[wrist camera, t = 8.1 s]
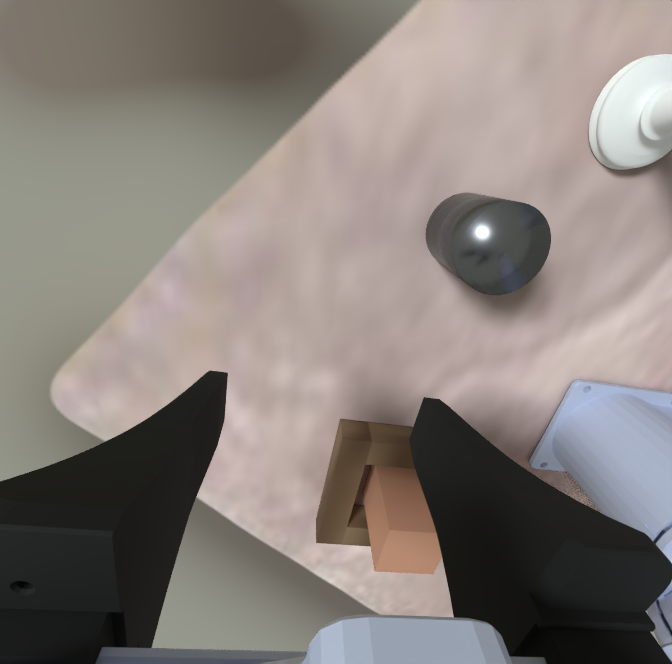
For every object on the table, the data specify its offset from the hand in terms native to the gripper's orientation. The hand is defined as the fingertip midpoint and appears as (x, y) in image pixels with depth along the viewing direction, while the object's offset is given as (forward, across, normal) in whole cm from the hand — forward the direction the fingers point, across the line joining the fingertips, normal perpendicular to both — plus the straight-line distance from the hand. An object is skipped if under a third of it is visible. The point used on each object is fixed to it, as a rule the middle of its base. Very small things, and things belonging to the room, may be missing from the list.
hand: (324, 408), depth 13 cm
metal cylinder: (+9, -7, -6) cm, 13 cm away
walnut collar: (+9, -8, +13) cm, 18 cm away
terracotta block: (+10, -8, +13) cm, 18 cm away
